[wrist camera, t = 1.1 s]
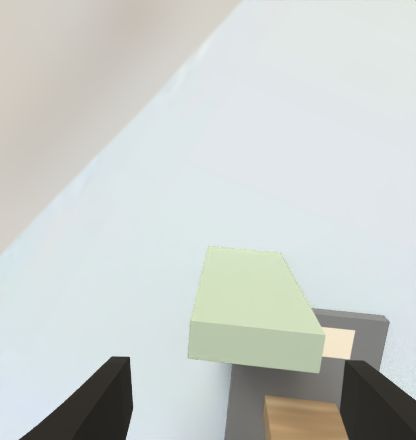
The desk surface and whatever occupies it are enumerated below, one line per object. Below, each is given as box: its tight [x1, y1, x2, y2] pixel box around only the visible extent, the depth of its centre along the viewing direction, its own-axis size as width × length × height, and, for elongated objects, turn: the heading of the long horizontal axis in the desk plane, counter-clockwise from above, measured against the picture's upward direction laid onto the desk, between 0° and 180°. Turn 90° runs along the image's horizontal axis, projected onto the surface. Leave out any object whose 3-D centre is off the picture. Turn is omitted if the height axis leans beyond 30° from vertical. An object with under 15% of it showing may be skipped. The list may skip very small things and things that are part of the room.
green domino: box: [188, 246, 326, 373], centre depth 17 cm, size 2×5×10 cm, turn 86°
